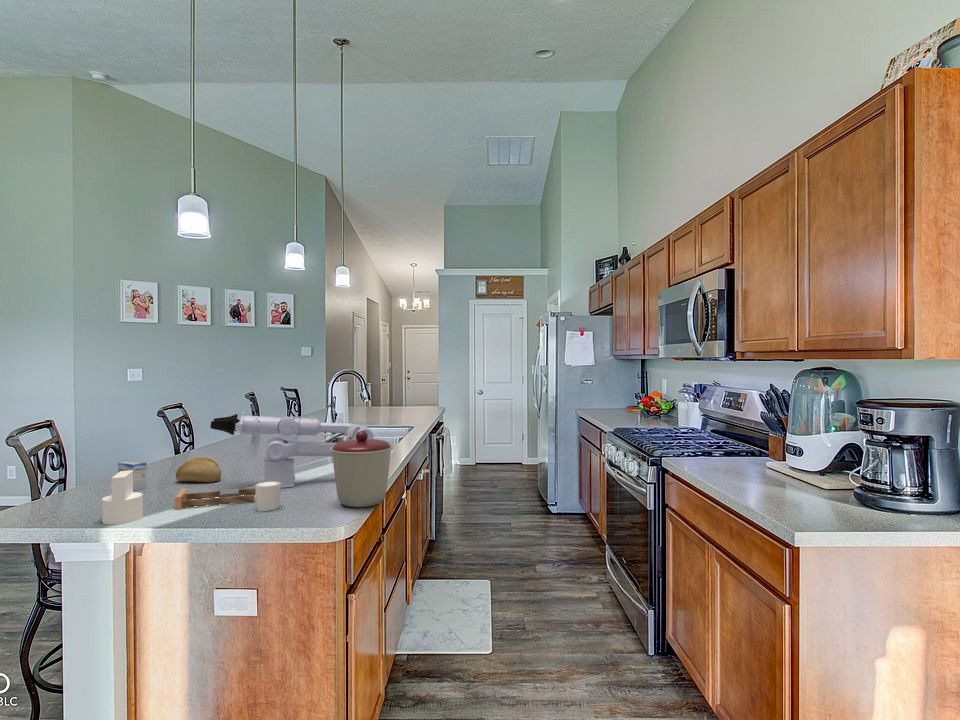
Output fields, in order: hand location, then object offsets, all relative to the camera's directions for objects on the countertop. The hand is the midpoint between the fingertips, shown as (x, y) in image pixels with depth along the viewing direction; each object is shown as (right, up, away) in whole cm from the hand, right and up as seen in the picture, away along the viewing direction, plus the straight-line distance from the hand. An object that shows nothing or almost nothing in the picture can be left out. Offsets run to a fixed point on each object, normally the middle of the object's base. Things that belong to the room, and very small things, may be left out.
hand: (212, 423), depth 172 cm
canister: (+51, -22, -14) cm, 57 cm away
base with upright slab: (-9, -22, -29) cm, 38 cm away
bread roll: (-11, -22, +14) cm, 28 cm away
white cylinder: (+25, -22, -19) cm, 39 cm away
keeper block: (+11, -22, -11) cm, 27 cm away
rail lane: (+8, -22, -12) cm, 26 cm away
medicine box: (-28, -22, +4) cm, 36 cm away
